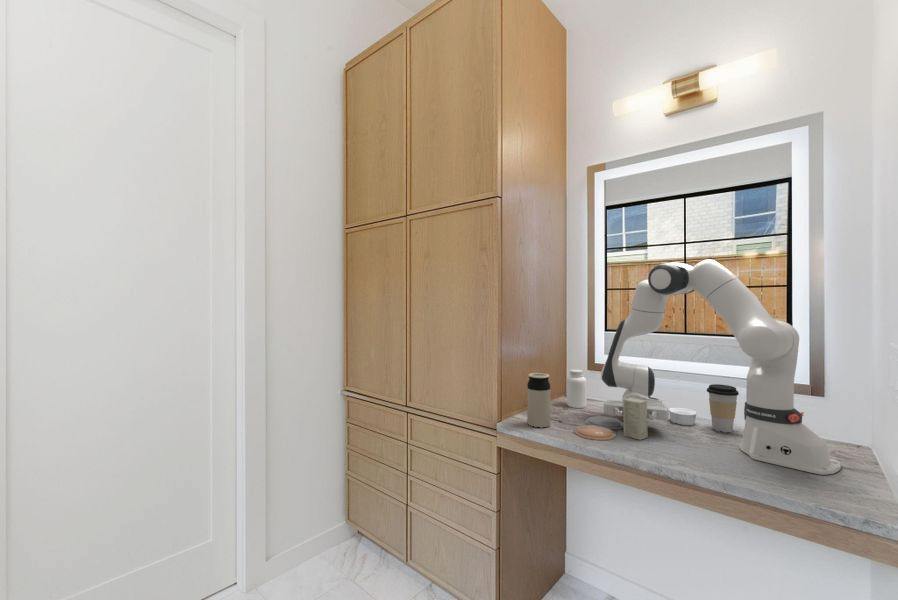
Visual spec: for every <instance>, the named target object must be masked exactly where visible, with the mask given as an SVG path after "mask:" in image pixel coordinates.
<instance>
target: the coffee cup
mask: <svg viewBox="0 0 898 600" xmlns="http://www.w3.org/2000/svg"><path fill="white" fill-rule="evenodd" d="M705 391H706V392H707V393H708V398H709V399H708V401H709V412H710V416H711V426H712V429H713V430H714V429H715V430H714V431H716V430H718V431H717V432H720V431H722V432H721V433H727V432H730V433H732V432H733V430H734V421H735V418H736V410H737V400H738V396H739V394H740V393H739V391H738V390H737V387H735V386H732V385H728V384H716V383H715V384H713V383H712V384H709V385H708V387H707V388H706V390H705Z"/></svg>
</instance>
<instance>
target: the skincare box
mask: <svg viewBox="0 0 898 600" xmlns="http://www.w3.org/2000/svg"><path fill="white" fill-rule="evenodd" d="M622 417H623V418H622V419H623V420H622V421H623V423H624V427H623V436H625V437H629V438H633V439H636V440H639V441H641V440H644V439H646V438H648V418H647V401H645V400H640V399H635V398H626V399H623V416H622Z"/></svg>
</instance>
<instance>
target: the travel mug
mask: <svg viewBox="0 0 898 600" xmlns="http://www.w3.org/2000/svg"><path fill="white" fill-rule="evenodd" d="M527 376H528V378H529V379H528V382H527V393H526V394H527V395H526V396H527V397H526V399H527V400H526V401H527V410H526V412H527V415H526V418H527V419H526V422H527V423H528V424H529V426H530V425H531V426H530V427H532V426H534V427H533V428H536V427H540V428H539V429H544V428H543V427H545V428H547V427H549V426H551V383H550V381H549V378H550V374H549V373H544V372H543V373H542V372H541V373H540V372H532V373H529V374H527ZM528 424H527V425H528Z"/></svg>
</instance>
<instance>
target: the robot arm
mask: <svg viewBox="0 0 898 600" xmlns="http://www.w3.org/2000/svg"><path fill="white" fill-rule="evenodd" d="M693 292H697V293H698V294H699V295H700V296H701V297H702V298H703V299H704V300H705V302H706V303H707V304H708V305H709V306H710V307H711V308H712V309H713V311H715V312H716V313H717V314H718V316H719V317H720V318H721V319H722V320H723V322H724V323H725V324H726V327H728V329H729V330H730V332H731V334H732V335H733V336H734V338H735V339H736V341H737V342H738V344H739V347H740V348H741V349H740V350H742V352H744V354H745V355H747V356H749V357H750V358H751V359H750V364H749V369H748V372H747V374H746V395H745V396H746V398H745V399H746V400H745V402H744V406H743V415H744V416H743V417H744V428H743V429H744V430H743V435H742V438H741V442H740V444H739V448H738V449H740V451H741V452H743V453H744V454H747V455H748V456H749V457H750V458H751V459H752V460H755V461H760V462H764V463H767V464H768V463H769V464H772V465H777V466H781V467H785V468H789V469H794V470H798V471H802V472H806V473H807V472H808V473H811V474H816V475H833V474H835V473H837V472H839V471H840V470H841V469H842V467H841V463H840V462H839V461H838V460H836V459H834V458H831V455H830V450H829V447H828V444H827V442H826V441H825V440H824V439H823V438H822V437H820V436H819V435H818V434H817V433H815V432H814V431H812V430H811V429H810V428H809V427H808V426H806V425H805V424H804V423H803V417H804V416H805V415H804V411H801V412H800V411H798V410H797V409H796V408H795V407H794V406H795V405H794V402H795V399H794V397H795V396H794V395H795V388H794V387H795V375H796V370H797V364H798V363H797V362H798V356H799V346H800V345H799V344H800V335H799V332H798V331H797V329H796V328H795V327H794V326H792V325H791V324H790V323H788V322H786V321H783V320H777V319H776V320H775V319H773V317H772V316H771V315H770V313H768V311H767V310H766V308H764V306H763V304H762V303H761V302H760V299H759V298H758V297H757V296H756V295H755V294H754V293H753V292H752V291H751V290H750V288H748V287H747V286H746V285H745V284H744V283H743V282H742V281H741V280H740V279H739V278H738V276H736V275H735V274H734V273H733V272H731V271H730V270H729V269H728V268H727V267H725V266H724V265H722V264H721V263H719V262H718V261H716V260H714V259H704V260H702V261H699V262H698V263H696V264H695V265H693V264H690V263H682V262H664V263H660V264H657V265H655V266H654V267H653V268H651V270H650V271H649V274H648V276H647V279H644V280H642V281H640V282H638V284H637V285H636V288H635V290H634V294H633V297H632V301H631V302H632V303H631V308H630V309H631V310H630V313H629V314H628V316H627V317H626V318H625V319H622V320H621V321H620V323H619V324H618V326H617V328H616V330H615V334H614V336H613V339H612V343H611V345H610V348H609V351H608V354H607V358H606V360H605V362H604V364H603V366H602V369H601V371H600V372H601V373H600V377H601V378H600V379H601V381H602V382H603V383H604V384H605V386H607V387H611V388H621V389H625V390H624V392H623V394H622V397H621V398H622V400H615V399H608V400H606V401H605V402H604V403H603V413H604V414H606V415H611V416H612V415H614V416H617V417H623V399H626V398H635V399H640V400H645V401H647V420H649V421H654V420H659V421H660V420H661V421H668V420H669V417H670V412H669V408H668V406H667V405H666V404H665V403H664V402H663V400H662V399H661V398H657V397H651V396H653V394H654V391H655V385H656V378H655V373H654V371H653V370H652V368H651V367H650V366H646V365H642V364H634V363H628V362H624V361H620V360H619V358H620V356H621V352H622V349H623V347H624V344H625V342H626V341H627V340H629V339H631V338H635V337H639V336H646V335H648V334H652V333H654V332H656V331H657V330H659V328H660V327H662V324H663V320H664V317H665V311H666V303H667V300H668V298H670V297H671V296H677V295H686V294H690V293H693Z"/></svg>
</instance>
